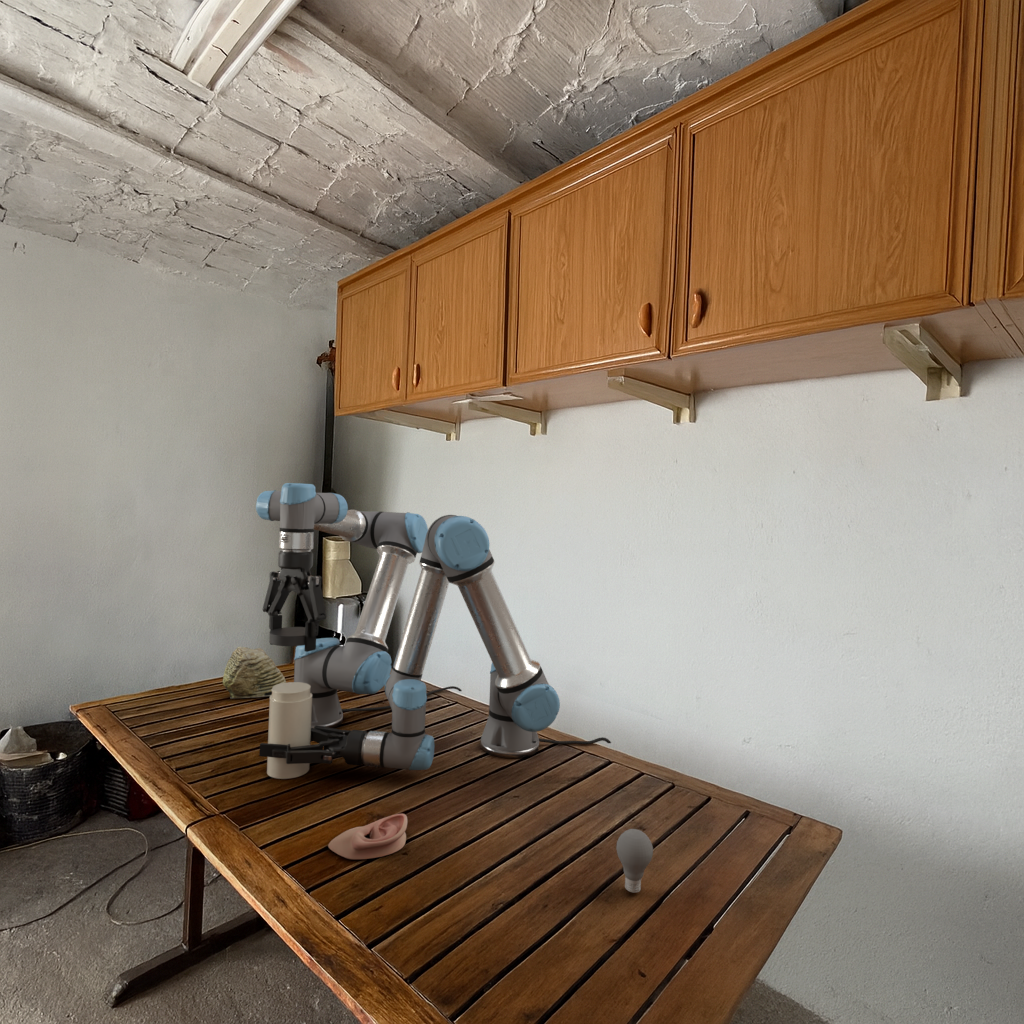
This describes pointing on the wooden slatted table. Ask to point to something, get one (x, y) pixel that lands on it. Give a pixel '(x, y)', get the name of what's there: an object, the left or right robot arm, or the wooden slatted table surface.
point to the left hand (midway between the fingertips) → (292, 646)
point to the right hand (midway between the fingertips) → (270, 741)
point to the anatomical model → (372, 839)
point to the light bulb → (634, 857)
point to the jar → (289, 725)
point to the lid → (288, 636)
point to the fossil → (251, 674)
